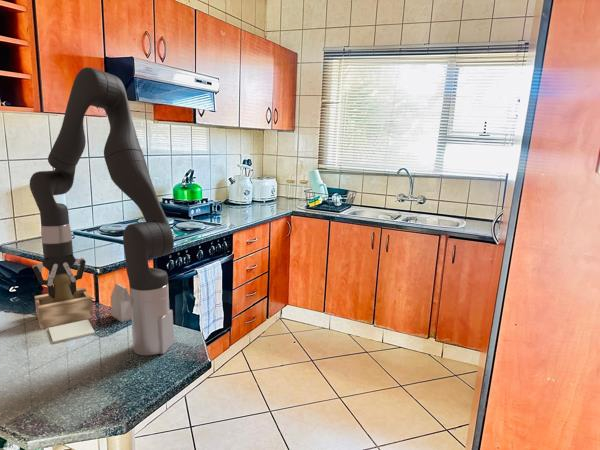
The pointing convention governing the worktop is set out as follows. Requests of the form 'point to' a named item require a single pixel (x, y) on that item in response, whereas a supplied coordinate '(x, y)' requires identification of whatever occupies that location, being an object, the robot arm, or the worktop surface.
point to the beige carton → (120, 303)
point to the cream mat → (71, 331)
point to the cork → (62, 288)
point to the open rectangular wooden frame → (63, 309)
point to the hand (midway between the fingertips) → (62, 294)
